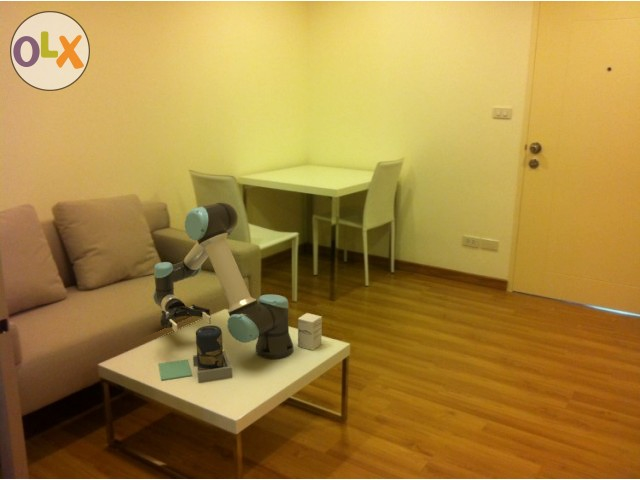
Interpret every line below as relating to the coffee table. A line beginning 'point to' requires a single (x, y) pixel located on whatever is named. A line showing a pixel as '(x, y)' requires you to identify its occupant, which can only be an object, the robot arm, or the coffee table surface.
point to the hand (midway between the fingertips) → (193, 324)
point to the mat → (175, 370)
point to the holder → (214, 371)
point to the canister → (209, 348)
